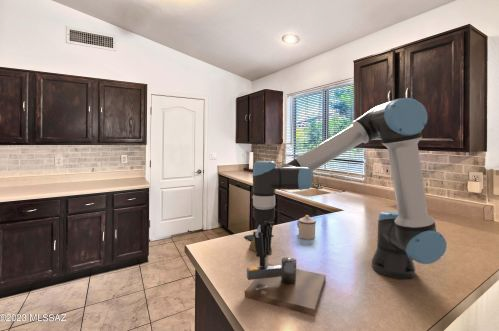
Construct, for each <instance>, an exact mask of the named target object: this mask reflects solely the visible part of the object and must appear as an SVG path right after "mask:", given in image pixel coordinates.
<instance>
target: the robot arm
mask: <svg viewBox="0 0 499 331" xmlns="http://www.w3.org/2000/svg"><path fill="white" fill-rule="evenodd" d="M427 123H428V112H427V109H426V107H425V105H424V104H423V103H421V102H420V101H418V100H416V99H415V98H411V97H403V98H402V97H401V98H396V99H393V100H390V101H387V102H385V103H381V104H378V105H376V106H375V107H373V108H371V109H370V110H368V111H367V112H365V113H364V114H363V115H361V116H359V117H358V118H356V119H355V120H353V121H351V125H350V126H348V127H347V128H345V129H343V130H341V131H340V132H338V133H337V134H335V135H333V136H332V137H329V138H328V139H326V140H325V141H323V142H321V143H320V144H318V145H316V146H314V147H312V148H311V149H310V150H307V151H306V152H304V153H302V154H300V155H299V156H298V157H296V158H294V159H292V160H291V161H289V162H287V163H283V164H282V165H281V166H277V165H276V162H275V161H272V160H257V161H255V162H254V163H253V165H252V196H251V199H252V206H253V208H252V218H253V219H254V220H255V221H257V222H256V226H255V228H256V231H255V230H254V231H253V232H252V233H253V234H252V235H254V238H255V247H256V252H255V253H256V254H255V255H256V257H258V258H259V260H258V261H259V263H258V264H259V265H258V267H266V266H268V263H269V256H271V254H272V253H270V252H269V251H270V250H271V248H272V238H273V237H272V235H273V228H274V222H273V221H272V220H275V218H276V207H275V206H276V190H294V191H295V190H296V191H297V190H300V191H302V190H309V189H311V187H312V185H313V173H312V172H314V171H317V169H319V168H321V167H322V166H324V165H325V164H328V163H330V162H331V161H333V160H335V159H336V158H338V157H339V156H341V155H344V154H345V153H347V152H348V151H350V150H352V149H353V148H355V147H357V146H358V145H360V144H362V143H363V144H367V143H370V142H371V141H373V140H375V139H379V138H380V141H381V144H382V145H383V146H385V148H387V153H388V160H389V166H390V172H391V177H392V185H393V189H394V195H395V202H396V208H397V211H381V212H380V213H379V214H378V219H377V240H376V241H377V243H376V250H375V252H374V254H373V256H372V259H371V268H372V269H373V270H374V271H375V272H377V273H379V274H381V275H384V276H386V277H390V278H393V279H399V280H401V279H403V280H405V279H406V280H407V279H412V278H414V277H415V276H416V266H415V264H414V262H416V263H418V264H423V265H430V264H434V263H437V262H439V261H440V259H441V258H442V257H443V256H444V255H445V253H446V250H447V248H448V247H447V240H446V238H445V236H444V235H443V234H441V233H440V232H439V231H437V225H436V221H435V218H433V217H432V216H430V215H429V211H428V205H427V204H428V203H427V198H426V192H425V183H424V178H423V171H422V164H421V159H420V158H421V157H420V153H419V152H420V151H419V147H418V144H419V142H420V141H421V140H422V139H423V134H422V130H424V129H425V126H426V125H427ZM271 221H272V222H271Z"/></svg>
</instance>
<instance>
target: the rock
mask: <svg viewBox="0 0 499 331" xmlns="http://www.w3.org/2000/svg"><path fill="white" fill-rule="evenodd" d="M248 250H250V251H252V252H255V253H256V247H255V238H253V240H252V241H250V243H249V246H248ZM272 250H273V249H272V247H271V250H270V251H269V252H270V253H271V254H272Z"/></svg>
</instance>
